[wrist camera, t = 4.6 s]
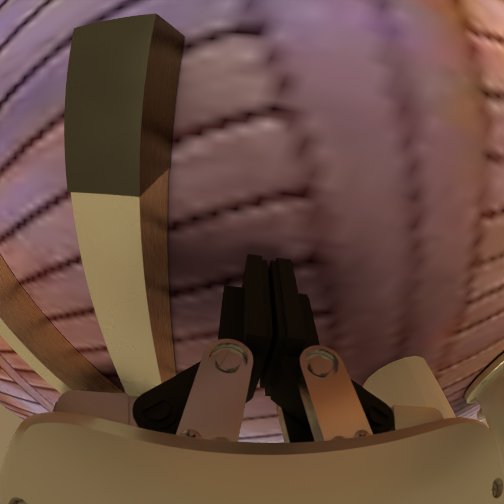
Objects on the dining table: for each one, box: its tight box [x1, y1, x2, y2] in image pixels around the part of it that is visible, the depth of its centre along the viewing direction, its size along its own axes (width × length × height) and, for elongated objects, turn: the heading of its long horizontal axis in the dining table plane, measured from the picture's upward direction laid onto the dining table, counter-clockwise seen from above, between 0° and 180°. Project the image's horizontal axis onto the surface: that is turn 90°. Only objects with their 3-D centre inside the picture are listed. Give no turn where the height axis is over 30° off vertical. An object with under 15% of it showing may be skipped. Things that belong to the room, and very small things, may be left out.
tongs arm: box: [64, 14, 185, 396], centre depth 12 cm, size 24×2×3 cm, turn 172°
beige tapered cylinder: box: [363, 356, 456, 419], centre depth 15 cm, size 7×7×7 cm
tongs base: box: [0, 255, 124, 394], centre depth 14 cm, size 29×5×3 cm, turn 22°
